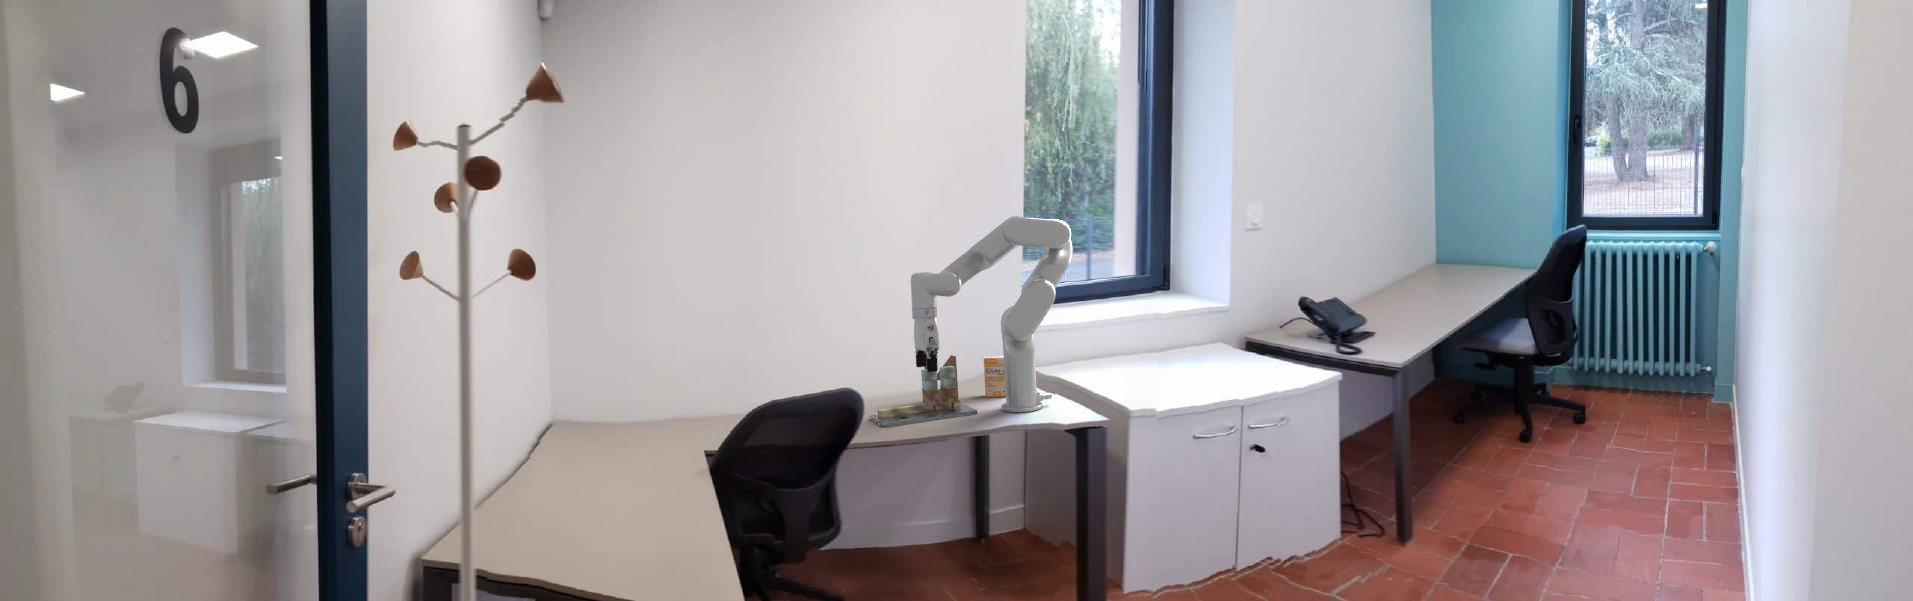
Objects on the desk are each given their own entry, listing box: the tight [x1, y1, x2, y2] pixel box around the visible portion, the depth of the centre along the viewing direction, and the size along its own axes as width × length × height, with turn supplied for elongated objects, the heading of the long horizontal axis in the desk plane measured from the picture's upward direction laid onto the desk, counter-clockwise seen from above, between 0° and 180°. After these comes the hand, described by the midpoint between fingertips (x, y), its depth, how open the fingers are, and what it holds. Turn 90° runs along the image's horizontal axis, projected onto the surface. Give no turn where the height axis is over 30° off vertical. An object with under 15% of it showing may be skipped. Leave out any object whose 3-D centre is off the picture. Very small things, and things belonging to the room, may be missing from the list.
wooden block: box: [923, 352, 960, 401], centre depth 339 cm, size 4×11×18 cm, turn 117°
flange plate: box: [868, 402, 978, 427], centre depth 319 cm, size 30×14×1 cm, turn 112°
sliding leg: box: [920, 368, 939, 411], centre depth 320 cm, size 4×6×12 cm, turn 22°
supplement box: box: [983, 355, 1006, 398], centre depth 341 cm, size 8×5×13 cm, turn 81°
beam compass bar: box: [877, 366, 961, 418], centre depth 319 cm, size 26×7×13 cm, turn 112°
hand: (926, 369), depth 319 cm, fingers open, 9 cm apart
